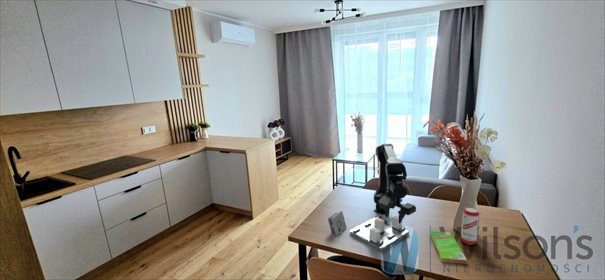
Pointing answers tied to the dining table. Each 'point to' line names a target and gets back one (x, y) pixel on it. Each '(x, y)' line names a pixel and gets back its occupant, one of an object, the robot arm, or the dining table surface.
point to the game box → (447, 247)
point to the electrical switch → (337, 223)
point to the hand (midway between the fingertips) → (393, 220)
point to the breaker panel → (386, 237)
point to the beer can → (470, 225)
